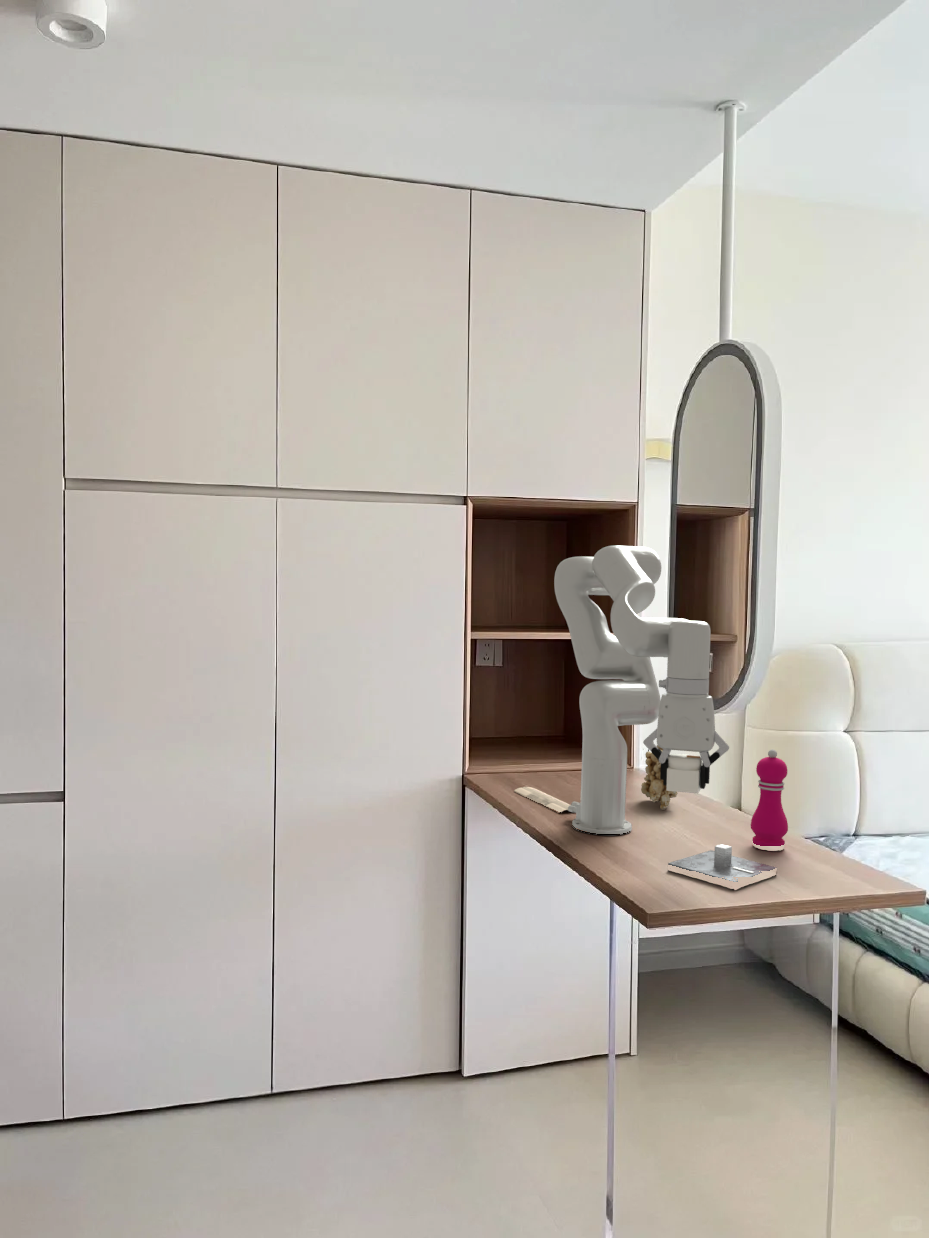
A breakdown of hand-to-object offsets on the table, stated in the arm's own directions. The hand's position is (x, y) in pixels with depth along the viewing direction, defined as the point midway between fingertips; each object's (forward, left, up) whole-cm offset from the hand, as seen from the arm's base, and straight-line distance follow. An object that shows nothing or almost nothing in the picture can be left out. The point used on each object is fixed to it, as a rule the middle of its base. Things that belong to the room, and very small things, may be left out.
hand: (684, 784), depth 179 cm
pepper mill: (+2, +28, -16) cm, 32 cm away
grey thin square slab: (+6, +5, -16) cm, 18 cm away
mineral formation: (-33, +40, -16) cm, 54 cm away
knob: (0, 0, -1) cm, 1 cm away
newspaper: (-52, +20, -17) cm, 58 cm away
